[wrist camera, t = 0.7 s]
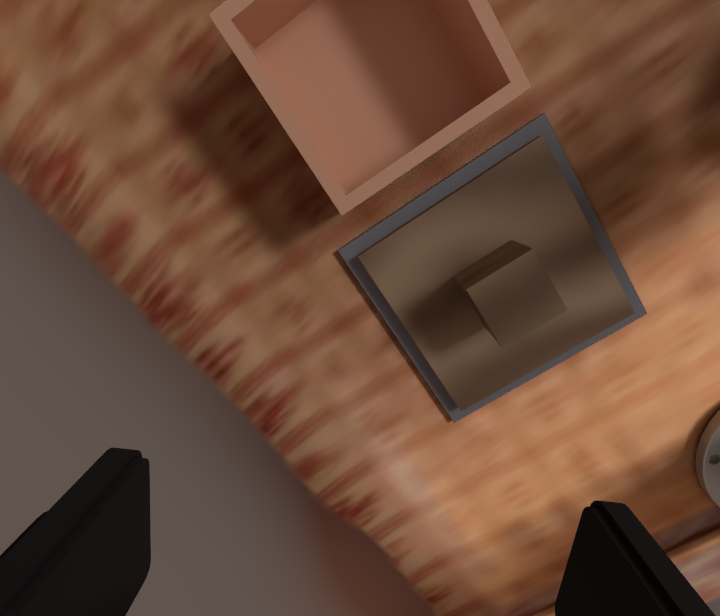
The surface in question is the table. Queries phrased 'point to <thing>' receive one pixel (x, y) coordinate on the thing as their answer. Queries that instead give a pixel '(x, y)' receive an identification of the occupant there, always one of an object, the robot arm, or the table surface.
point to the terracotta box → (372, 79)
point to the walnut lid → (498, 276)
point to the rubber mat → (441, 191)
